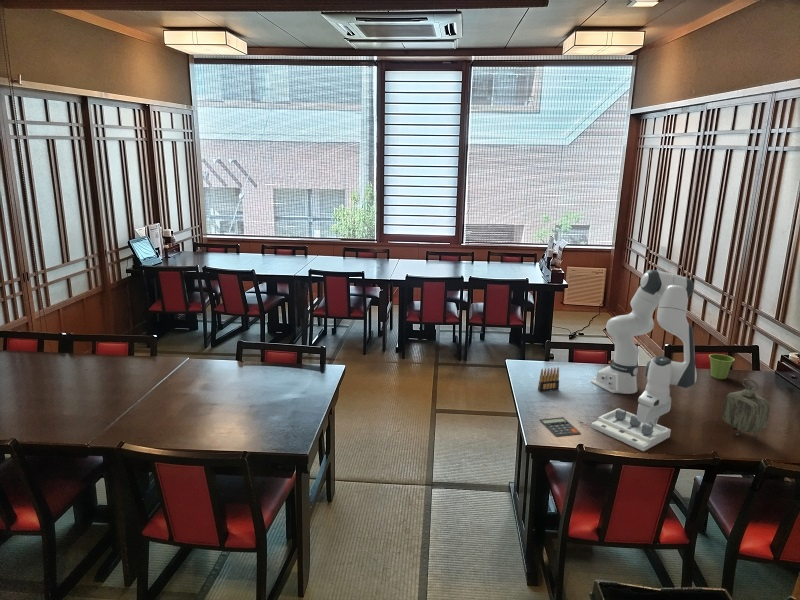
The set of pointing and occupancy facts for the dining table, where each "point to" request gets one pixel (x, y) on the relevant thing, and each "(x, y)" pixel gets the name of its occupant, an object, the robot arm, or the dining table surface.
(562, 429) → the calculator
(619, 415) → the tab
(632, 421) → the tab
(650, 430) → the tab
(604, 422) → the switch bank
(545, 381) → the ammunition clip
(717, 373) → the plant pot
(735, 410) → the tabletop clock
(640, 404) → the robot arm
